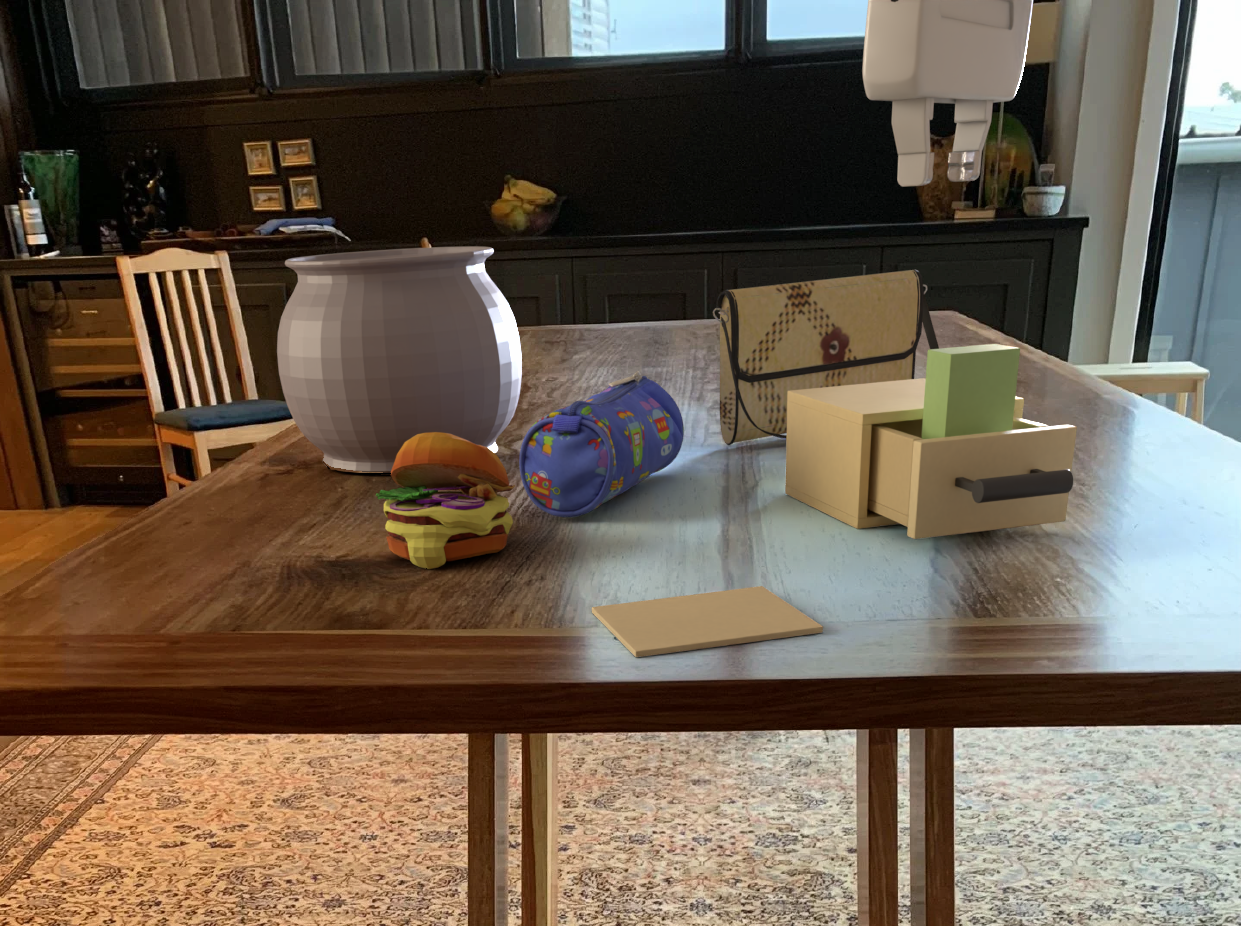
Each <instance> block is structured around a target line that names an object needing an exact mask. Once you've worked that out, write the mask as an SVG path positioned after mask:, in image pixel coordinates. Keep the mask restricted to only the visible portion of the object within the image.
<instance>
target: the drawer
mask: <svg viewBox="0 0 1241 926" xmlns="http://www.w3.org/2000/svg"><path fill="white" fill-rule="evenodd" d="M922 424H923V419H919V420H909V421H899V422H889V423H879V424H871V425H872V428H871V447H870V466H869V485H868V503H867V509H869V510H871V511H873V512H875V513H878V514H880V515H882V516H884V517H886V518H889V519H891V520H893V521H895V522H898V523H900V524H899V525H902V526H904V527H906V528H907V530H906V532H907V533H906V536H907V537H909V538H911V539H912V540H920V539H929V538H936V537H937V538H938V537H945V536H946V537H947V536H955V535H962V534H972V533H979V532H987V531H995V530H996V531H997V530H1003V529H1004V530H1005V529H1013V528H1021V527H1029V526H1038V525H1046V524H1055V523H1063V522H1066V521H1067V513H1068V511H1067V510H1068V503H1069V496H1070V492H1071V490H1072V489H1073V486H1074V475H1073V473H1072V471H1073V464H1074V463H1073V462H1074V456H1075V447H1076V440H1077V439H1076V438H1077V431H1078V427H1077V426H1075V425H1071V424H1060V425H1051V426H1049V425H1047V424H1044V423H1040V422H1036V421H1032V420H1029V419H1024V418H1022V419H1021V418H1017V417H1013V425H1012V430H1010V431H1000V432H990V433H981V434H971V435H961V436H952V437H942V438H932V439H922Z"/></svg>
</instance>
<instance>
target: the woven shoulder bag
mask: <svg viewBox="0 0 1241 926" xmlns="http://www.w3.org/2000/svg"><path fill="white" fill-rule="evenodd" d="M924 288H925V290H924ZM927 291H928V285H926V284H924V282H923V276H922V274H921V272H920V271H919V270H917V269H915V268H914V269H912V270H911V269H909V270H900V271H892V272H881V273H872V274H863V275H854V276H846V277H836V278H835V277H834V278H828V279H817V280H808V281H801V282H800V281H799V282H791V283H782V284H780V283H779V284H772V285H763V286H753V287H745V288H735V289H724V290H723V291H721V292H720V293H719V295H718V296H717V300H716V304H715V306H716V308H713V310H712V315H713V318H715V320H716V321H717V322H719V424H720V432H721V436H722V437H721V438H722V440H723V442H724V444H726V445H727V446H731V445H733V444H734V443H739V442H745V441H751V440H756V439H763V438H767V437H776V438H781V439H786V437H787V401H788V400H787V393H788V391H790V390H801V389H812V388H823V387H833V386H844V385H855V384H866V383H877V382H887V381H898V380H909V379H915V372H916V357H917V355H916V354H917V348H918V346H919V343H920V340H921V336H922V334H923V333H922V331H923V330H924V332H925V336H926V340H927V343H928V348H929V349H940V346H939V342H938V340H937V339H938V338H937V335H936V332H935V328H934V325H933V321H932V318H931V314H930V309H929V306H928V305H929V304H928V302H927V299H926V293H927ZM716 311H718V314H719V318H718V317H717V315H716V313H715V312H716Z"/></svg>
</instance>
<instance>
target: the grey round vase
mask: <svg viewBox="0 0 1241 926" xmlns="http://www.w3.org/2000/svg"><path fill="white" fill-rule="evenodd" d="M494 252H495V250H494V248H492V247H490V246H477V245H476V246H475V245H474V246H437V247H435V246H434V247H432V246H431V247H413V248H396V249H395V248H394V249H378V250H377V249H376V250H364V251H350V252H349V251H348V252H336V253H325V254H316V255H315V254H314V255H306V256H305V255H304V256H299V257H291V258H288V259H286V260H285V261H284V265H285V267H287V268H289V269H291V270H293V271H294V273H296V274H297V283H296V285H295V287H294V289H293V291H292V294H291V296H290V297H289V299H288V301H287V303H286V305H285V307H284V309H283V312H282V315H281V316H280V319H279V325H278V330H277V342H276V343H277V344H276V353H277V366H278V375H279V379H280V380H279V381H280V384H281V389H282V393H283V396H284V399H285V402H286V405H287V409H288V410H289V412H290V415H291V417H292V419H293V421H294V424H295V425H296V427H297V428H298V430H299V431H300V432H301V434H302V435H303V436H304V437H305V438H306V439H307V440H308V441H309V442H310V443H311V444H313V446H315V447H316V448H317V449H318V450H319V451H321V452H322V453H323V457H324V458H322V462H323V461H324V462H325V463H326V464H328V465H329V466H331V467H334V468H341V469H346V470H353V471H362V472H383V473H391V470H392V467H393V465H394V462H395V459H396V456H397V454H398V452H399V450H400V449H401V447H402V446H403V444H404V443H405V442H406V441H407V440H409V439H411V438H412V437H414V436H415V435H417V434H421V433H429V432H441V433H449V434H452V435H455V436H458V437H460V438H463V439H465V440H467V441H470V442H472V443H474V444H476V445H482V446H484V447H487V448H489V449H490V450H491V451H493V452H494V453H495V454H496V453H497V452H498V450H499V447H498V445H497V443H496V441H497V439H498V438H499V436H500V435H501V434H503V432H504V430H506V429H507V427H508V426H509V424H510V423H511V421H512V419H513V418H514V416H515V413H516V409H517V407H518V402H519V399H520V394H521V388H522V387H521V386H522V376H523V372H522V371H523V370H522V369H523V368H522V367H523V366H522V364H523V361H522V359H523V357H522V356H523V355H522V348H521V341H520V335H519V331H518V327H517V322H516V318H515V316H514V313H513V311H512V309H511V307H510V304H509V302H508V300H507V299H506V297H505V296H504V294H503V293H502V291H501V290H500V289H499V288H498V286H497V284H496V283H495V282H494V281H493V280H492V278H491V277H490V276H489V274H488V272H487V271H486V268H485V262H486V260H487V258H489V257H490V256H492V255H493V254H494Z"/></svg>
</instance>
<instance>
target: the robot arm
mask: <svg viewBox="0 0 1241 926" xmlns="http://www.w3.org/2000/svg"><path fill="white" fill-rule="evenodd" d="M1033 3H1034V0H867V9H866V20H865V31H864V40H863V41H864V43H863V55H862V69H861V72H862V81H863V82H862V83H863V87H864V91H865V96H866V97H867V98H868V99H869V100H870V101H881V102H883V101H885V102H892V108H891V128H892V132H893V137H894V142H895V147H896V153H897V156H898V157H897V177H896V178H897V183H898V185H900V187H902V188H903V187H920V186H921V187H922V186H927V185H928V184H930V183H931V182H932V180H933V179H934V170H933V169H934V163H935V152H933V151H931V130H930V129H931V128H930V126H931V125H930V121H932V120H933V118H934V105H935V104H952V105H953V104H954V117H953V119H954V121H953V122H954V123H955V124H956V126H955V133H954V140H953V145H952V151H951V152H948V160H947V166H948V168H947V173H946V174H947V175H946V176H947V179H948V180H949V182H952V183H957V182H971V181H972V182H973V181H975V180H977V179H978V178H979V176H980V175H981V167H982V165H981V164H982V153H983V149H984V147H985V143H986V139H987V136H988V133H989V130H990V126H991V123H992V119H993V118H992V116H993V105H994V103H1001V102H1002V103H1003V102H1010V101H1012V100H1013V99H1014V98H1015V96H1016V94H1017V91H1018V89H1019V86H1020V83H1021V80H1022V78H1023V77H1022V76H1023V72H1024V67H1025V62H1026V55H1027V49H1028V41H1029V35H1030V28H1031V27H1030V26H1031V19H1032V13H1033Z"/></svg>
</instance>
